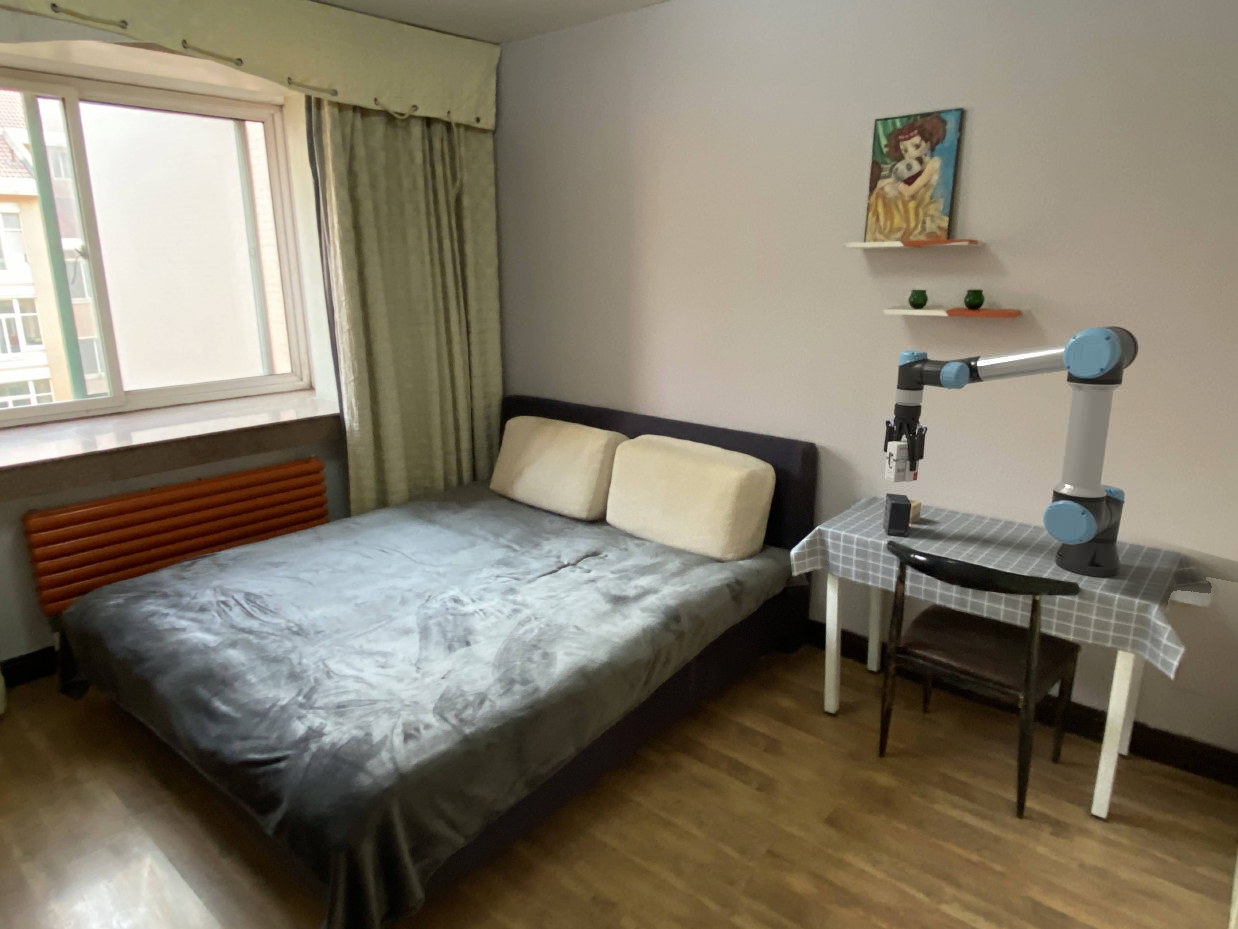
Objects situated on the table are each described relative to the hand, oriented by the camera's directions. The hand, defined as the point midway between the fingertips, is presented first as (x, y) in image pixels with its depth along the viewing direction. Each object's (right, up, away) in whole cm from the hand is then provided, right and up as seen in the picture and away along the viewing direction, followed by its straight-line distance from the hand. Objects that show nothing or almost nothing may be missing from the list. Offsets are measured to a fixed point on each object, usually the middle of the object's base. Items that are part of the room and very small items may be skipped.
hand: (900, 478), depth 232 cm
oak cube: (+7, -14, +15) cm, 21 cm away
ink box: (0, 0, 0) cm, 1 cm away
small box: (0, -16, +4) cm, 17 cm away
